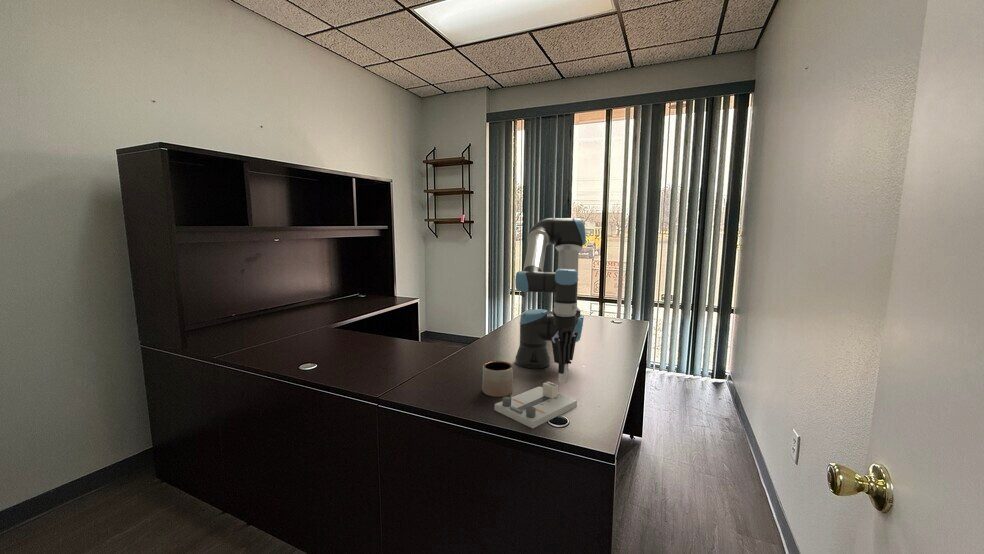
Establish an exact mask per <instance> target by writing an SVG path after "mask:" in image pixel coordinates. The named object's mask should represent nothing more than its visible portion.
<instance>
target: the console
mask: <svg viewBox="0 0 984 554" xmlns="http://www.w3.org/2000/svg"><path fill="white" fill-rule="evenodd" d="M577 404H578V400H577V399H574V398H573V397H572V398H571V397H570V396H565V395H563V394H561V393H558V396H557V397H555V398H553V399H551V398H549V397H546V396H543V386H537V387H534V388H532V389H531V388H530V389H529V390H526V391H524V392H522V393H519V394H517V395H514V396H509V395H507V396H504V397H502V401H499V402H496V403H494V412H495V411H496V412H497V413H500V414H502V415H503V416H506V417H508V418H511V419H512V420H514V421H516V422H517V423H520V424H522V425H524V426H526V427H529V428H530V429H535V428H537V427H539V426H541V425H542V424H545V423H546V422H547V423H548V421H551V420H553V419H554V418H557V417H559V416H561V415H563V414H565V413H566V412H568V411H571V410H573V409H575V408H576V407H578V405H577Z"/></svg>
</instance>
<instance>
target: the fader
mask: <svg viewBox="0 0 984 554" xmlns="http://www.w3.org/2000/svg"><path fill="white" fill-rule="evenodd" d="M558 387H559V384H557V383H554V382H552V381H545V382H543V383H542V388H543V396H546V397H549V398H551V399H553V398H555V397H557V396H558V394H559V393H558V391H559V389H558Z"/></svg>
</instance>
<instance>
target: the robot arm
mask: <svg viewBox="0 0 984 554" xmlns="http://www.w3.org/2000/svg"><path fill="white" fill-rule="evenodd" d="M526 242H527V249H526V254H525V257H524V258H525V259H524V264H523V269H522V270H521V271H520V270H518V271H517V272H516V273H515V279H514V280H515V283H514V284H515V289H516V290H517V292H525V293H550V294H554V303H553V306H554V307H553V309H552V313H549V311H548V309H545V308H544V309H542V308H536V309H530V310H525V311H523V312H522V313H520V320H519V346H518V348H517V349H518V350H517V353H516V355H515V359H514V360H515V364H516V366H519V367H521V368H524V369H525V368H526V369H537V370H538V369H545V368H547V367H549V366H550V365H551V358H550V355H549V350H548V346H547V342H551V346H552V353H553V361H554V363H556V364H557V365H558V370H557V371H558V379H557V380H558V382H560V383H562V384H567V383H568V375H569V364H570V365H571V364H572V361H573V359H574V354H575V347H576V343H578V342H579V341H580V340H581V337H582V332H583V326H584V320H585V319H584V317H585V316H584V315H583V314H581V310H580V308H579V307H578V290H579V289H578V287H579V286H578V282H579V256H580V255H579V254H580V253H579V252H580V251H582V250H583V246H585V245H586V244H587V238H586V227H585V222H584V220H583V219H582V218H579V217H578V218H575V217H565V218H564V217H561V218H560V217H548V218H544V219H541V220H540V221H538V222H536V223H535V224H534V225H533V226H532V227H531V228H530V230H529V231H528V232H527V238H526ZM548 245H555V249H556V251H557V252H558V259H557V260H558V263H557V265H558V266H557V269H556V270H555V272H554V271H544V266H545V258H546V250H547V247H548Z"/></svg>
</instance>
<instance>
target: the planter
mask: <svg viewBox="0 0 984 554" xmlns="http://www.w3.org/2000/svg"><path fill="white" fill-rule="evenodd" d="M513 376H514V366H513V364H512V363H510V362H508V361H502V360H491V361H488V362H484V364H482V385H481V389H482V393H483V394H485V395H487V396H488V397H492V398H503V397H505V396H509V395H511V394H512V393H513V391H514V390H513V389H514V377H513Z"/></svg>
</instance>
